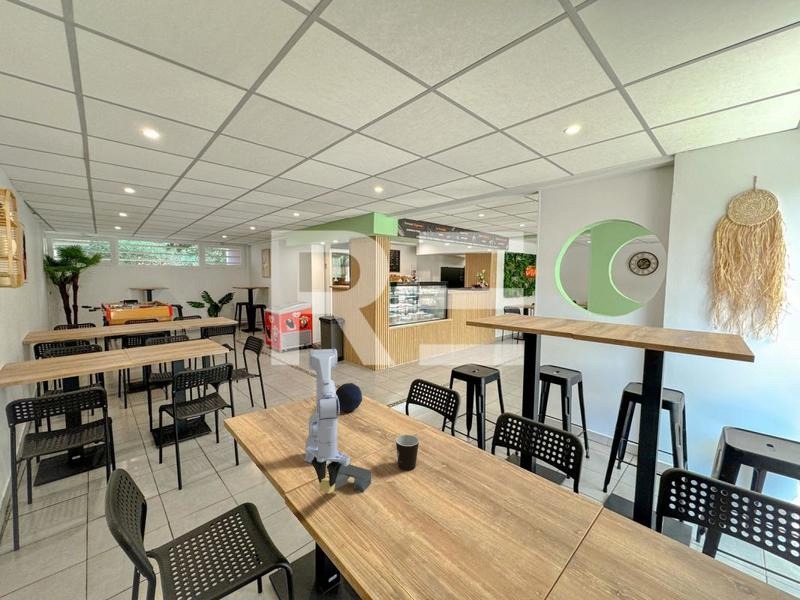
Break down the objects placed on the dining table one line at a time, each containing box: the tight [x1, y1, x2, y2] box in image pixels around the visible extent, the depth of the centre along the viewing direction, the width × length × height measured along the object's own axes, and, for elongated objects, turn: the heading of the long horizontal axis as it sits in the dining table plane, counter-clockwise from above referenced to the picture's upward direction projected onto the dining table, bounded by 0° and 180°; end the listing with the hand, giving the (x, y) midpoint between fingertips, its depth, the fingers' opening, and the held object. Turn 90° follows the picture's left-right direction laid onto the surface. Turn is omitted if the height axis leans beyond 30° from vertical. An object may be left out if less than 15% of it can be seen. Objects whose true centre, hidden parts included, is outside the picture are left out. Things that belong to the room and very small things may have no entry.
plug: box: [319, 474, 349, 494], centre depth 100 cm, size 12×3×3 cm, turn 157°
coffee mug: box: [395, 434, 420, 472], centre depth 121 cm, size 12×9×10 cm
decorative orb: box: [336, 382, 363, 413], centre depth 170 cm, size 14×15×15 cm
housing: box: [337, 463, 372, 493], centre depth 110 cm, size 12×5×4 cm, turn 67°
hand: (327, 482), depth 96 cm, fingers closed on plug, 3 cm apart
